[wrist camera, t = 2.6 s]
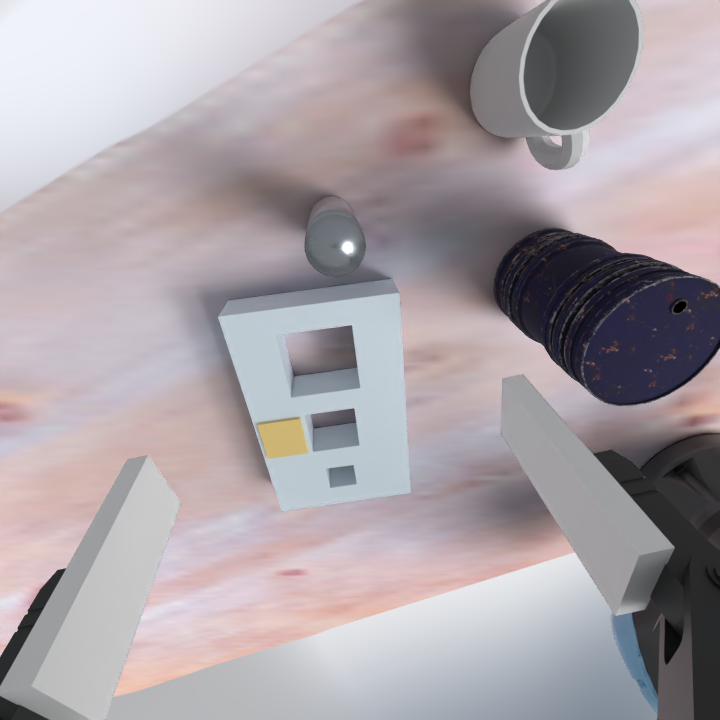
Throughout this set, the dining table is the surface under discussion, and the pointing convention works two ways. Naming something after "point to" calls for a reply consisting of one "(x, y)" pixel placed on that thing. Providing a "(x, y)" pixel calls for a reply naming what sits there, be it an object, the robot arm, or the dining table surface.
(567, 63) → the cup
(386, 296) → the block
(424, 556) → the dining table surface
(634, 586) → the robot arm
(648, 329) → the storage jar
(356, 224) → the grey rounded cylinder
